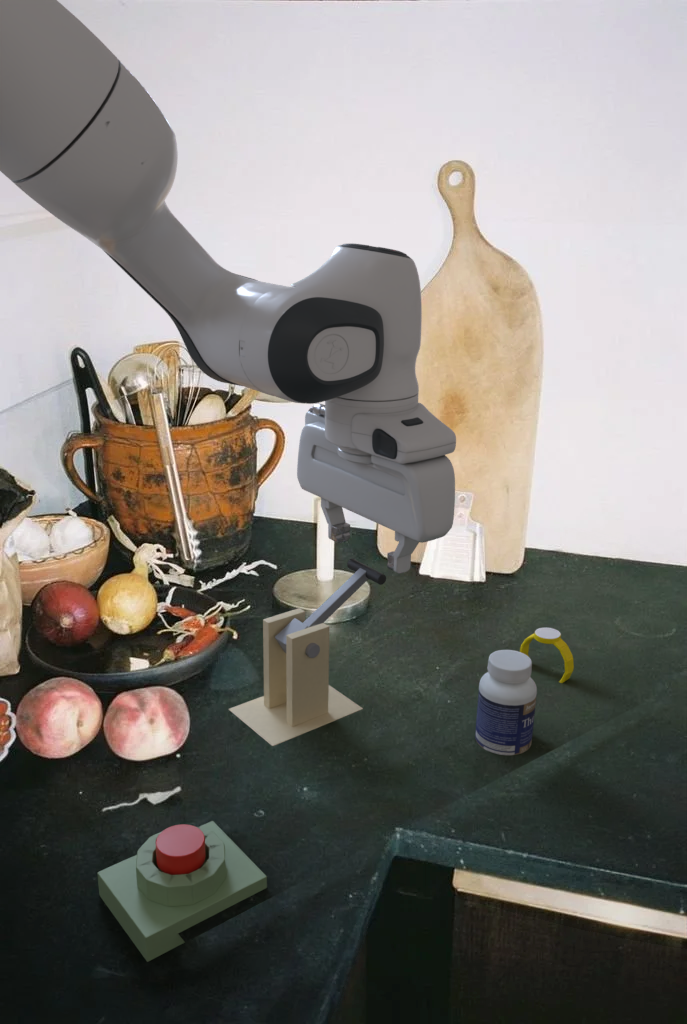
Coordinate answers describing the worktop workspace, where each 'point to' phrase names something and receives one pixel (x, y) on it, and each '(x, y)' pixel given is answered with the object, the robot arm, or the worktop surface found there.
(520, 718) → the pill bottle
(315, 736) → the worktop surface
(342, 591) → the lever
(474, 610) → the worktop surface
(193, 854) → the button
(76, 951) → the worktop surface
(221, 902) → the block
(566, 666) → the watch
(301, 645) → the tan bracket
